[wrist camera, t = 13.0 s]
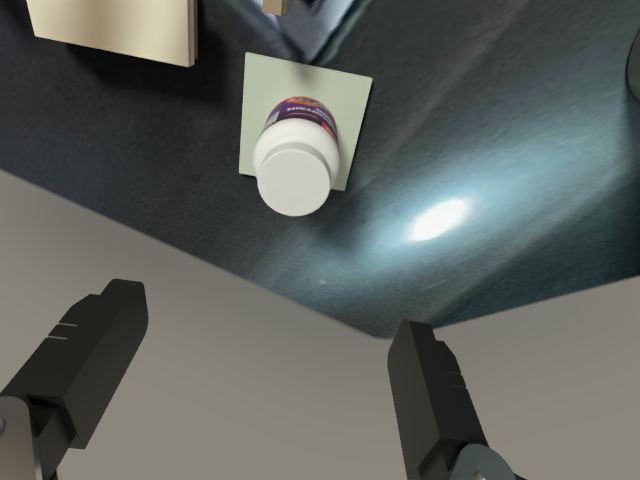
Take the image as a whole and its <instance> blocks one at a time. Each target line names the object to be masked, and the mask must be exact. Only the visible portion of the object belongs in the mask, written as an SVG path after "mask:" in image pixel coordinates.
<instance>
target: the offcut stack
mask: <svg viewBox="0 0 640 480" xmlns="http://www.w3.org/2000/svg"><path fill="white" fill-rule="evenodd" d="M27 5H28V9H29V13H30V17H31V21H32V26H33V30H34V34H35V36H38V37H43V38H48V39H53V40H57V41H62V42H67V43H72V44H77V45H82V46H87V47H92V48H97V49H102V50H107V51H112V52H116V53H121V54H126V55H131V56H136V57H141V58H146V59H151V60H156V61H161V62H166V63H171V64H175V65H180V66H185V67H190V66H192V65H194V60H196V59H198V21H197V0H27Z"/></svg>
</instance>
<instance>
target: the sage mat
mask: <svg viewBox="0 0 640 480" xmlns="http://www.w3.org/2000/svg"><path fill="white" fill-rule="evenodd" d="M371 83H372V78H370V77H365V76H360V75H355V74H350V73H346V72H341V71H336V70H331V69H326V68H321V67H316V66H312V65H307V64H302V63H297V62H292V61H287V60H282V59H278V58H273V57H268V56H263V55H258V54H253V53H248V52H247V53H246V56H245V74H244V92H243V109H242V127H241V145H240V163H239V173H241V174H247V175H252V176H255V173H254V170H253V152H254V148H255V145H256V142H257V140H258V138H259V136H260V133H261V131H262V129H263V127H264V125H265V123H266V121H267V119H268V116H269V114H270V113H271V111H272V110H273V108H274V107H275V106H276V105H277V104H278V103H279V102H281V101H282V100H284V99H286V98H288V97H291V96H297V95H304V96H309V97H312V98H315V99H317V100H319V101H320V102H322V103H323V104H324V105H325V106H326V107H327V108H328V109H329V110H330V112H331V113H332V115H333V117H334V120H335V123H336V128H337V137H338V146H339V153H340V170H339V175H338V177H337V180H336V182H335V184H334V185H333V187H332V188H331V189H335V190H341V191H345V187H346V183H347V179H348V175H349V171H350V167H351V163H352V159H353V155H354V151H355V147H356V143H357V139H358V135H359V131H360V127H361V123H362V119H363V115H364V111H365V107H366V103H367V99H368V95H369V91H370V87H371Z"/></svg>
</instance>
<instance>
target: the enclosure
mask: <svg viewBox="0 0 640 480" xmlns="http://www.w3.org/2000/svg"><path fill="white" fill-rule="evenodd" d="M288 6H289V0H263V9H262V12H266V13H270V14H275V15H279V16H282V15H284V14H286V13H288Z"/></svg>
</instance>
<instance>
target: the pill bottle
mask: <svg viewBox="0 0 640 480" xmlns="http://www.w3.org/2000/svg"><path fill="white" fill-rule="evenodd" d="M253 170H254V173H255V176H256V178H257V180H258V188H259V192H260V194H261V196H262V198H263V200H264V201H265V202H266V204H267V205H268V206H269V207H271V208H272V209H273V210H275V211H277V212H279V213H281V214H284V215H288V216H303V215H307V214H309V213H312V212H314V211H315V210H317V209H318V208H319V207H321V205H322V204H323V203H324V202H325V200H326V199H327V197H328V194H329V191H330V190H331V188H332V187H333V185H334V184H335V182H336V180H337V177H338V175H339V170H340V153H339V146H338V137H337V128H336V123H335V120H334V117H333V115H332V113H331V112H330V110H329V109H328V108H327V107H326V106H325V105H324V104H323V103H322V102H320V101H319V100H317V99H315V98H312V97H309V96H304V95H297V96H291V97H288V98H286V99H284V100H282V101H281V102H279V103H278V104H277V105H276V106H275V107H274V108H273V110H272V111H271V113H270V114H269V116H268V119H267V121H266V123H265V125H264V127H263V129H262V131H261V133H260V136H259V138H258V140H257V142H256V145H255V148H254V152H253Z"/></svg>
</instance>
